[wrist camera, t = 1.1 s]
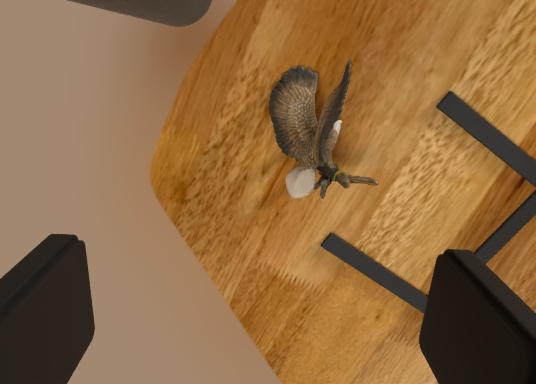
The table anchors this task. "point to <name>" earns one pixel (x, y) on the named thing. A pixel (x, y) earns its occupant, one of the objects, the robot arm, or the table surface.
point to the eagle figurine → (309, 131)
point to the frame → (530, 208)
